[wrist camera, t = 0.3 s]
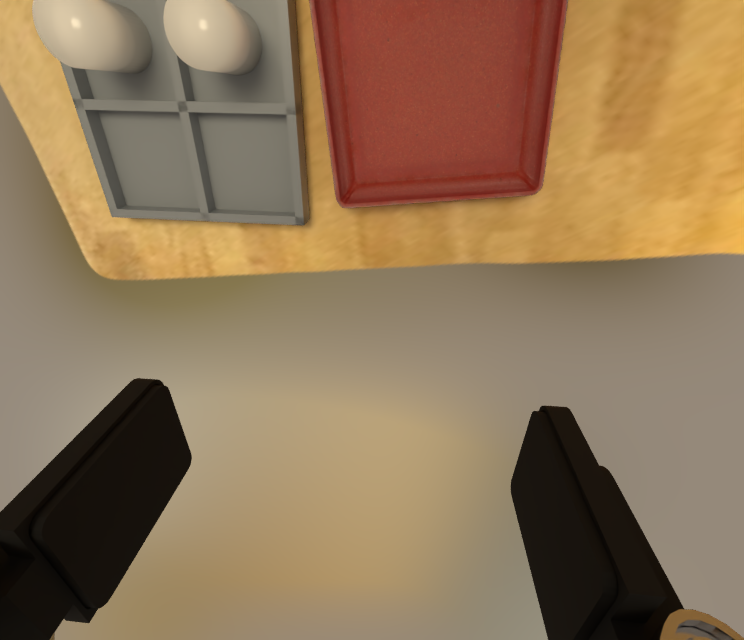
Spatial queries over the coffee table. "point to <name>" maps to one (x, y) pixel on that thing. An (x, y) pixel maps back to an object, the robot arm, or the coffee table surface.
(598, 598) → the robot arm
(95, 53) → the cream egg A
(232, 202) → the gray divided tray
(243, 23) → the cream rounded cylinder
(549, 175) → the coffee table surface
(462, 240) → the coffee table surface
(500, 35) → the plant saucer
